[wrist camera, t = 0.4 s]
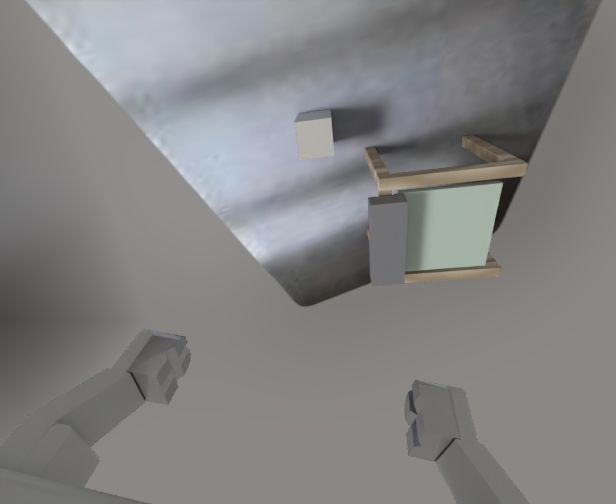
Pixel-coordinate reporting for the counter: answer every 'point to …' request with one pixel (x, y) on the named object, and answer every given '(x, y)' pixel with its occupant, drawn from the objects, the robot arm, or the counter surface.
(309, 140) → the stone
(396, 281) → the trapdoor
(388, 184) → the frame
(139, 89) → the counter surface
